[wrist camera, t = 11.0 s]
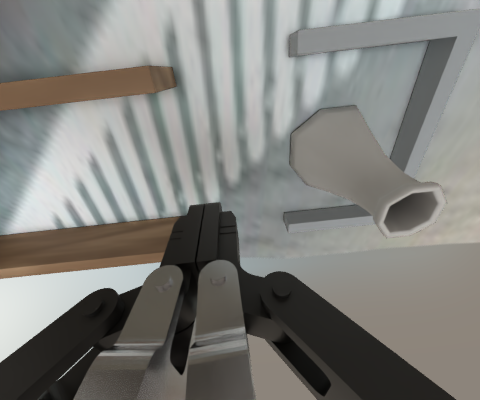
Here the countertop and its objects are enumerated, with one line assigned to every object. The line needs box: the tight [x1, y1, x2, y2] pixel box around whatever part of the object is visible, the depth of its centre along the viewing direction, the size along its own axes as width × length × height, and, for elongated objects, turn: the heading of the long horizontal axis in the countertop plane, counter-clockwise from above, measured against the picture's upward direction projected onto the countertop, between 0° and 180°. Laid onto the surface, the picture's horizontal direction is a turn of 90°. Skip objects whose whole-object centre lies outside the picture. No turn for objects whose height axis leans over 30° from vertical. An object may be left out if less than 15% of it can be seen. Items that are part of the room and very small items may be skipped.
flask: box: [290, 106, 447, 238], centre depth 14 cm, size 7×7×10 cm
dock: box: [284, 9, 480, 233], centre depth 17 cm, size 16×11×2 cm
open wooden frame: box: [0, 66, 180, 279], centre depth 16 cm, size 14×26×5 cm, turn 96°
